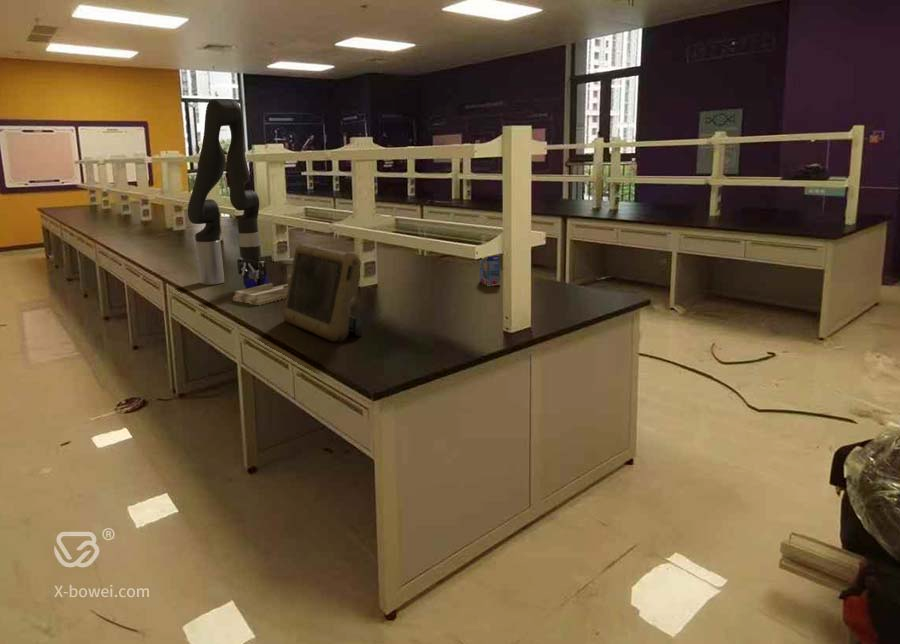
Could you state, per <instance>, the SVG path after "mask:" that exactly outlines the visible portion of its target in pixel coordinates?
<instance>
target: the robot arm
mask: <svg viewBox="0 0 900 644" xmlns="http://www.w3.org/2000/svg"><path fill="white" fill-rule="evenodd" d="M222 127H229V131H230V144H229V147H228V151H227V155H226V154H225V151H224V150H223V148H222V145H221V142H220V133H221V129H222ZM203 129H204V130H203V137H202V143H201V149H200V154H199V158H198V164H197V169H196V175H195V181H194V184H193V187H192V188H193V189H192V191H191V195H190V198H189V202H188V205H187V218H188V220H189V222H190V223H191V224H194V225H203V224H205V226H204V228H203V229H202V230H200V231H198V232H197V233H196V234H195V235H194V239H195V245H196V246H195V247H196V254H197V259H196V264H197V274H198V283H200V284H201V285H206V286H207V285H208V286H211V285H212V286H213V285H218V284H222V283H225V275H224V264H223V254H222V245H221V233H222V232H221V215H220V212H221V211H220V207H219V205H218V203H217V201H216V200H215V199H212V198H211V199H208V198H207V196H208V195H209V193H210V192H211V191H212V190H213V189H214V188H215V186H216V185H217V184H218V183H219V182H220V181H221V179H222V177H223V174H224V171H225V168H226V167H227V171H228V177H229V180H230V181H229V182H230V184H229V185H230V186H229V201H230V204H231V206H232V207H233V208H234V210H237V211H243V214H242V215H241V216H239V217H238V218H237V231H238V246H239V256H240V258H238V259H237V261H236V262H237V272H238V275H241V276H242V281H243V286H244V287H246V286H245V279H246V278H250V272H252V274H253V275H255V277H256V281H257V286H261V285H264V284H263V278H264V277H267V274H268V272H267V264H266V260H262V261H260V257H261V256H262V254H261V253H262V252H261V243H260V242H261V241H260V235H259V227H258V218H259V209H260V197H259V195H258V194H257V192H255V191H254V190H252V189H246V190H245V188H246V187H245V185H246V184H247V183H249V182H250V181H251V177H250V176H251V175H250V171H249V167H248V162H247V158H246V152H245V138H244V137H245V135H244V123H243V113H242V109H241V106H240V103H238V101H237V100H235V99H233V98H232V99H231V98H213V99H210V100H209V101H208V102H207V105H206V110H205V114H204V127H203ZM225 166H226V167H225ZM263 273H264V274H263Z"/></svg>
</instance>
